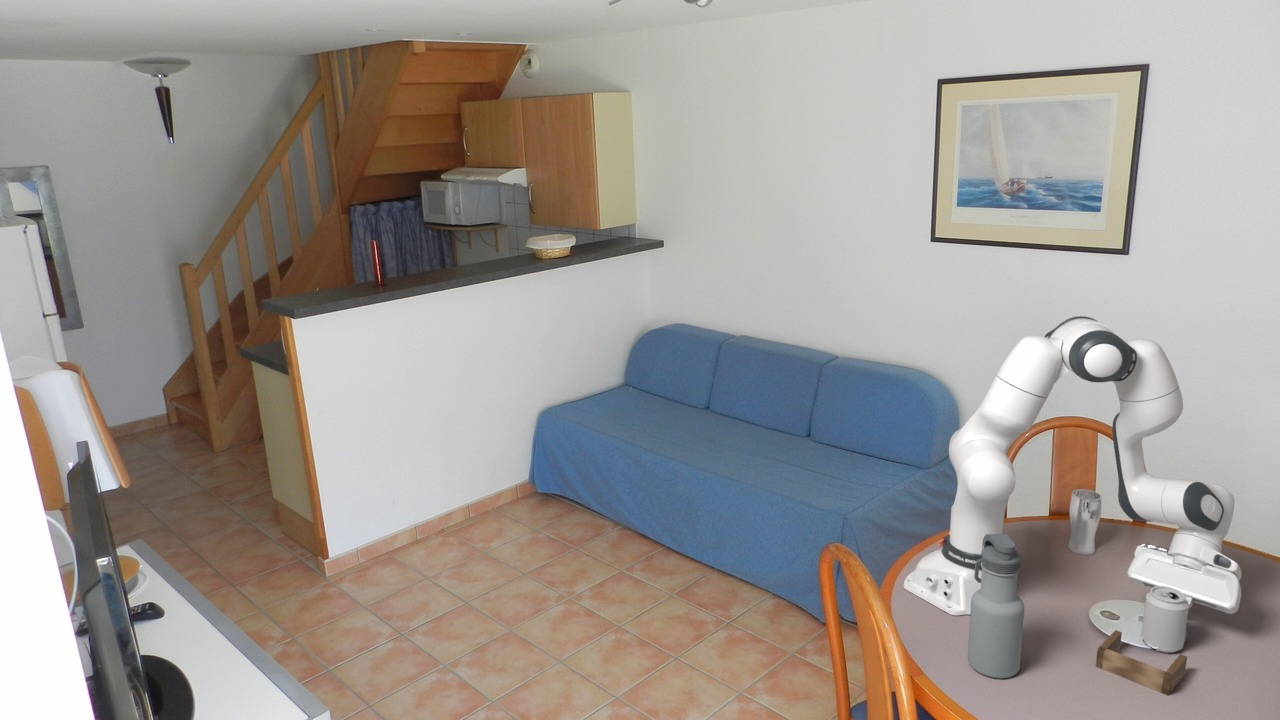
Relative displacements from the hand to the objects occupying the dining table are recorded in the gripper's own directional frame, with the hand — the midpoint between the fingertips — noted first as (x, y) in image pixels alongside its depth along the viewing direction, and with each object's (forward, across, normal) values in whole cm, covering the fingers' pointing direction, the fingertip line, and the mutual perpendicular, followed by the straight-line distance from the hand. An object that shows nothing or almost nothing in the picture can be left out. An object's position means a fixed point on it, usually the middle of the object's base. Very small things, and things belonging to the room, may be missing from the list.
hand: (1171, 615), depth 178 cm
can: (+7, 0, 0) cm, 7 cm away
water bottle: (+28, -21, -21) cm, 41 cm away
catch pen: (+14, 0, -8) cm, 16 cm away
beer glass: (-15, -28, +22) cm, 38 cm away
